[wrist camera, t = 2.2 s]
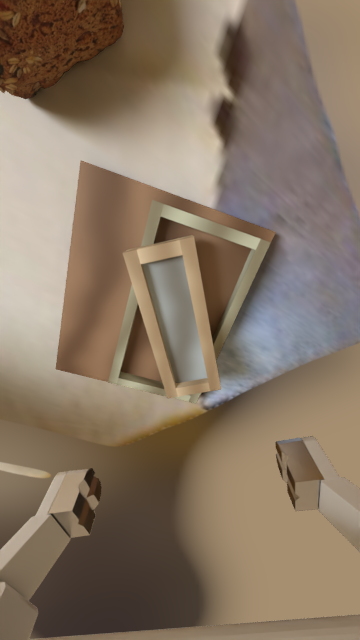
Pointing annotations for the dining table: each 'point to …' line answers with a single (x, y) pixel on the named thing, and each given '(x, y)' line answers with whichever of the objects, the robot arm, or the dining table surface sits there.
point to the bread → (52, 39)
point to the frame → (175, 314)
